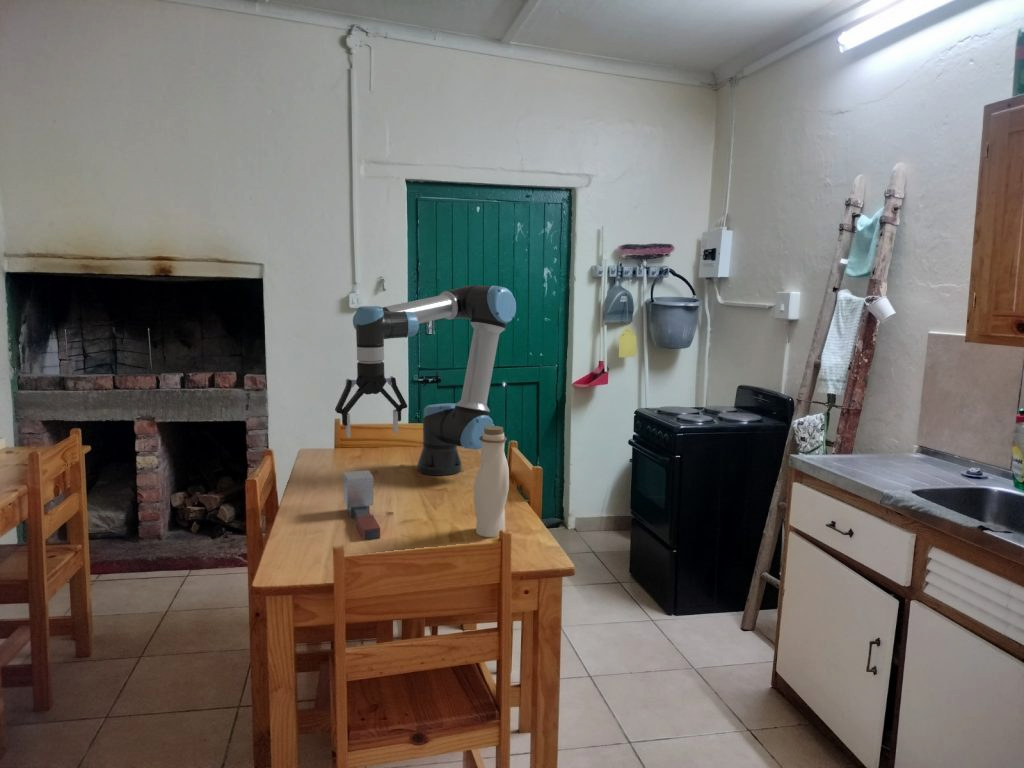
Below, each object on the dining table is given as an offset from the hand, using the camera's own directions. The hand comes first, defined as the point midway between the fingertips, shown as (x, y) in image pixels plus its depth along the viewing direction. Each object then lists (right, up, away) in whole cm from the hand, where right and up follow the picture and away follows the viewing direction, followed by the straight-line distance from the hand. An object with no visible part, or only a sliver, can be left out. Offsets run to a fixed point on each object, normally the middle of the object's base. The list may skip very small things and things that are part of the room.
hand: (372, 434), depth 195 cm
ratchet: (0, -23, -13) cm, 26 cm away
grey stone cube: (-3, -18, -6) cm, 20 cm away
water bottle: (+34, -24, -16) cm, 45 cm away
